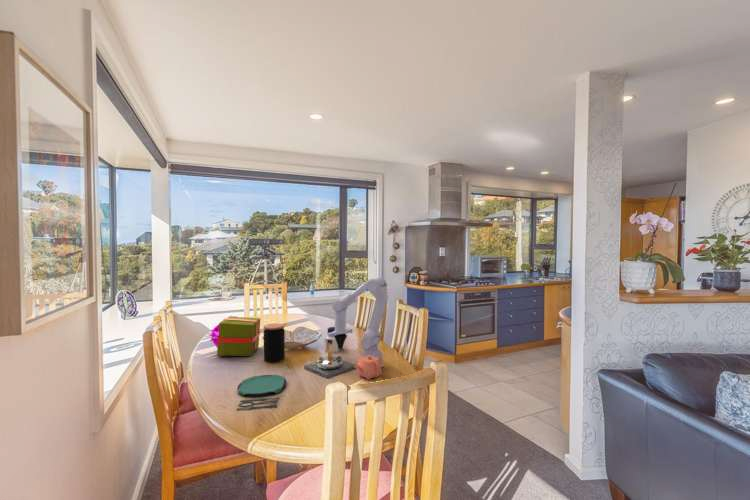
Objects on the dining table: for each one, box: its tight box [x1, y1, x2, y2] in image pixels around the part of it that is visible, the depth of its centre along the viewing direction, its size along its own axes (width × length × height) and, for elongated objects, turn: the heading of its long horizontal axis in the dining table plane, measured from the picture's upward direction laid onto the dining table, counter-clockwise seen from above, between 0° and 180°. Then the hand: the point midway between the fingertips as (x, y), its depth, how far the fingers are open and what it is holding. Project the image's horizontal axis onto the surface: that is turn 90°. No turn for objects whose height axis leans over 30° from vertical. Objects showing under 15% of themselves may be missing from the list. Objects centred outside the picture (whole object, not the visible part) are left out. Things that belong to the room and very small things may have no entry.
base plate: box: [303, 359, 356, 379], centre depth 169 cm, size 18×18×2 cm
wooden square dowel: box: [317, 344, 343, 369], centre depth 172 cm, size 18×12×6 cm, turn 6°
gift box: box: [209, 315, 261, 357], centre depth 195 cm, size 21×21×25 cm
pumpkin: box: [354, 355, 383, 381], centre depth 158 cm, size 12×12×10 cm
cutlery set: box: [236, 374, 287, 412], centre depth 142 cm, size 20×30×2 cm, turn 10°
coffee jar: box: [263, 322, 286, 363], centre depth 183 cm, size 11×11×18 cm
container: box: [324, 326, 341, 353], centre depth 199 cm, size 8×8×13 cm
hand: (340, 348), depth 182 cm, fingers closed
